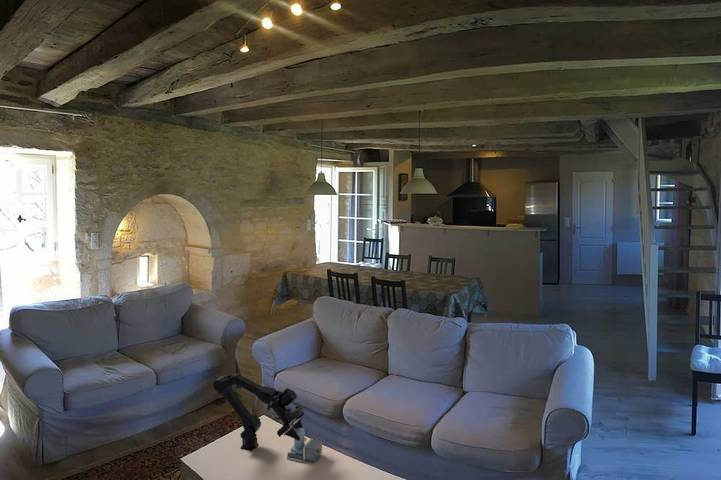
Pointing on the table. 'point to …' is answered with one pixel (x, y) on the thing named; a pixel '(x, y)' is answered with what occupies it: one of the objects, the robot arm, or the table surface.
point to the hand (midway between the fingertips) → (302, 437)
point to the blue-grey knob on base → (301, 443)
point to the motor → (308, 452)
